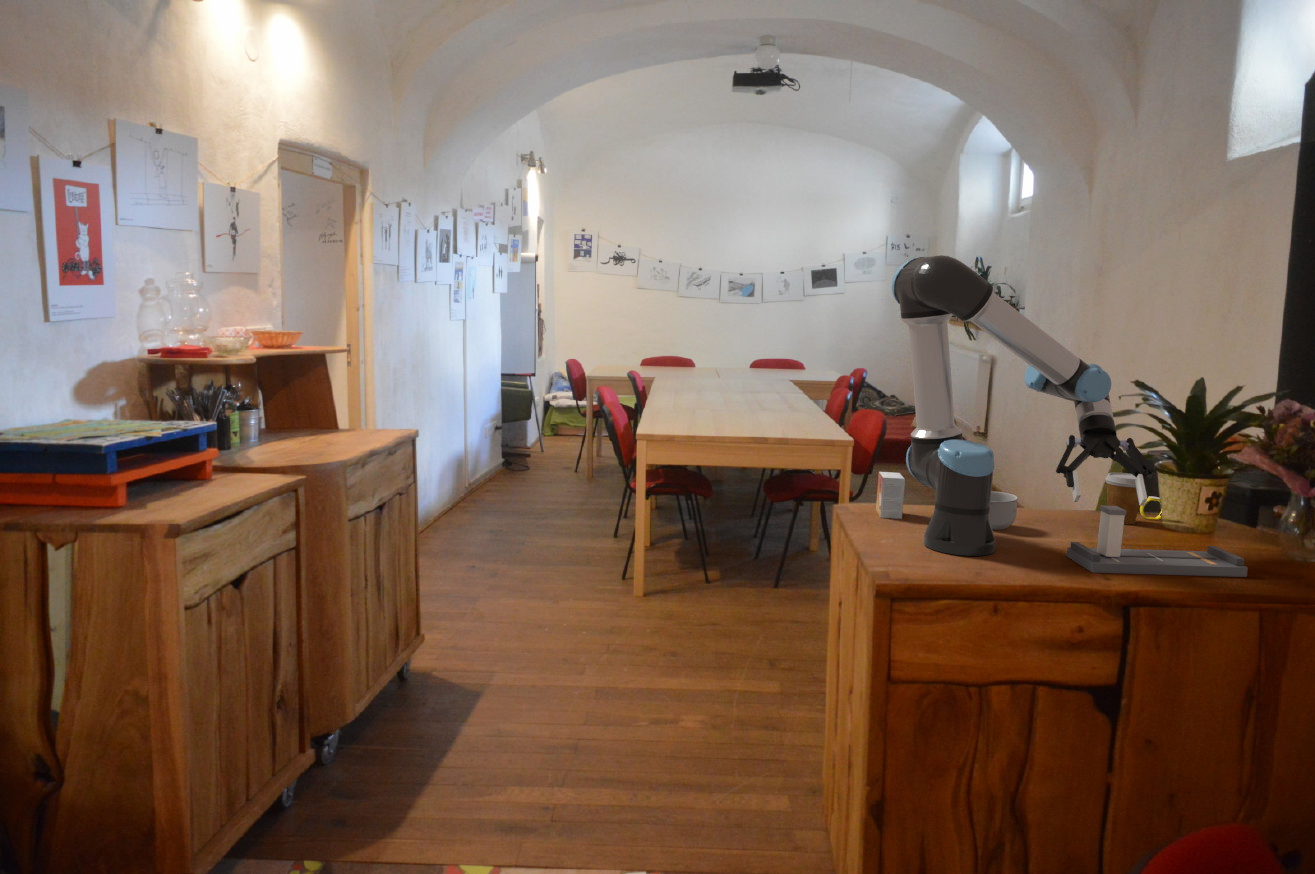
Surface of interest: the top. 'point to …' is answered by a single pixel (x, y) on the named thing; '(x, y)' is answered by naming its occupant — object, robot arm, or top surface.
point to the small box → (890, 495)
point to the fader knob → (1110, 530)
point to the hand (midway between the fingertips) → (1110, 500)
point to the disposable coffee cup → (1123, 494)
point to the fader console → (1160, 561)
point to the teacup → (1002, 510)
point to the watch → (1145, 504)
